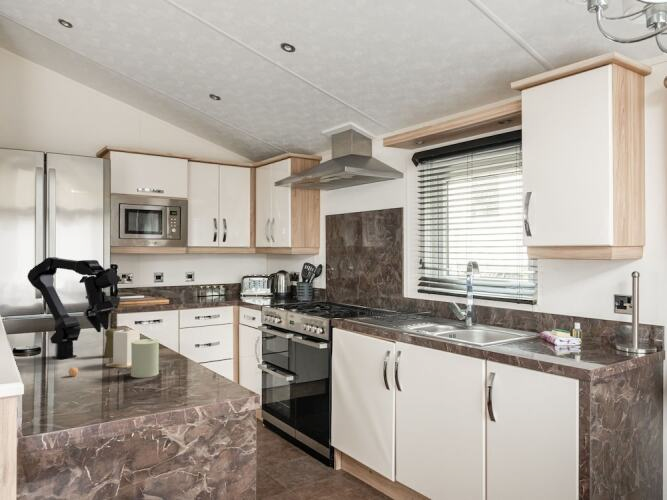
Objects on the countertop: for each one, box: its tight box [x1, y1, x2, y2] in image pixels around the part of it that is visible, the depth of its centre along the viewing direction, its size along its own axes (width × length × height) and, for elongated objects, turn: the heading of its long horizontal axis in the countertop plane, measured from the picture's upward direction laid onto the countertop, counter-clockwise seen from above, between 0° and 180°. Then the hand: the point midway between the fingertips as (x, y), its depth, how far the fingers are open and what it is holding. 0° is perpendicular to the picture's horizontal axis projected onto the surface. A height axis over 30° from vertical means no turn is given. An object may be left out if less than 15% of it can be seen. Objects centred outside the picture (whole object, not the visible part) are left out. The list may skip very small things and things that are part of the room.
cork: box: [103, 328, 119, 359], centre depth 206 cm, size 6×6×11 cm
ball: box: [68, 366, 79, 377], centre depth 174 cm, size 3×3×3 cm
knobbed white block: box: [112, 327, 141, 365], centre depth 192 cm, size 6×6×13 cm
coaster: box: [105, 362, 131, 369], centre depth 192 cm, size 10×10×1 cm
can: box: [130, 338, 160, 379], centre depth 178 cm, size 9×9×12 cm
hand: (102, 330), depth 196 cm, fingers open, 9 cm apart
